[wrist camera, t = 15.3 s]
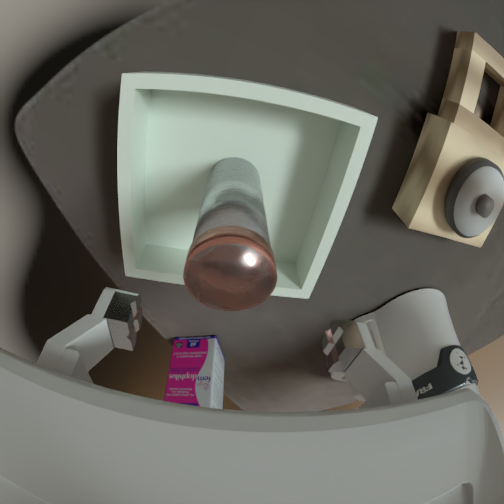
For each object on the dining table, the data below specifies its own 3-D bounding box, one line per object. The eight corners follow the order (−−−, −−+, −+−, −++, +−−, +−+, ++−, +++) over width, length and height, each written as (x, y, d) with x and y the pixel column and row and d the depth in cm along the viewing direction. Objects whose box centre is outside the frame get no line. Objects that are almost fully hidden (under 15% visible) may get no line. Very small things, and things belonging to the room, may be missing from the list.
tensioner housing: (464, 230, 26) (492, 261, 21) (391, 208, 24) (421, 244, 19) (517, 85, 14) (554, 100, 10) (448, 24, 13) (493, 25, 8)
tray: (300, 266, 28) (308, 298, 24) (139, 245, 26) (125, 275, 22) (353, 106, 19) (378, 117, 15) (145, 71, 16) (122, 73, 13)
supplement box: (216, 333, 34) (212, 417, 25) (225, 357, 38) (223, 432, 29) (172, 335, 34) (160, 416, 25) (186, 359, 38) (178, 431, 29)
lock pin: (255, 208, 23) (265, 314, 14) (204, 201, 22) (182, 305, 13) (266, 160, 20) (288, 248, 12) (210, 152, 20) (185, 235, 11)
